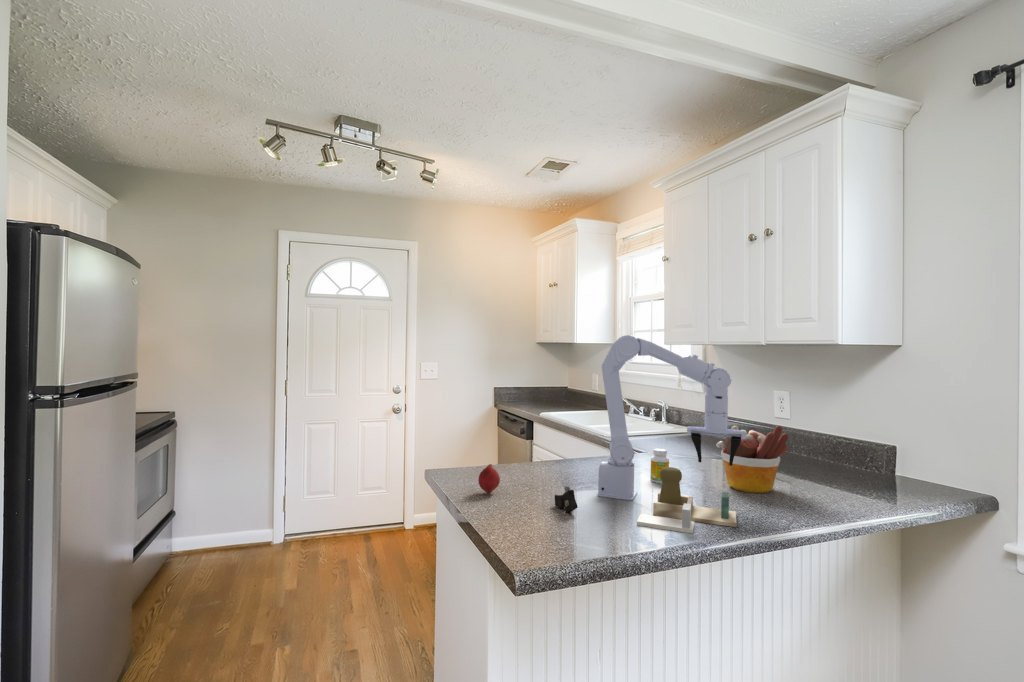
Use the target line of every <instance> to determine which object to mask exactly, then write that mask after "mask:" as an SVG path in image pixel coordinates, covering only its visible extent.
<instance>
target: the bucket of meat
mask: <svg viewBox="0 0 1024 682" xmlns="http://www.w3.org/2000/svg"><path fill="white" fill-rule="evenodd" d="M739 428H740V427H739V426H738V425H733V426H731V428H730V429H734V430H739ZM742 430H743V431H746V439H741V443H740V445H739V446H738V448H737V450H736V453H735V456H734V459H733V464H732V466H731V465H729V459H730V438H731V437H724V440H723V441H722V440H720V441H718V442H717V443H716V445H715V446H716V447H717V448H718V449H721V451H720V454H721V458H722V462H723V466H724V471H725V476H726V481H727V484H728V485H729V487H731V488H732V489H734V490H737V491H740V492H745V493H750V494H766V493H769V492H771V491H773V488H774V484H775V480H776V476H777V474H778V468H779V466H780V465H779V464H780V462H781V456H782V455H783V454H785V453H786V452H787V450H788V446H787V441H788V439H789V435H788V433H783V427H782V426H780V425H777V426H775V427H774V429H773V431H771V432H768V433H767V434H766V435H765V434H764V433H761V432H758V431H756V430H754V429H751V430H749V431H747V430H746V429H742Z"/></svg>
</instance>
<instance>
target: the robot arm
mask: <svg viewBox="0 0 1024 682" xmlns="http://www.w3.org/2000/svg"><path fill="white" fill-rule="evenodd" d="M636 356H639V357H641V356H642V357H643V356H646V357H647V356H650V357H652V358H655V359H656V360H659V361H661V362H664V363H665V364H666V363H667V364H669V365H672V366H674V367H676V369H677V371H678V373H679V374H680V375H682V376H684V377H687V378H688V379H691V380H693V381H695V382H698V383H699V384H704V385H705V395H704V426H692V425H691V426H686V434H687V435H691V436H690V438H691V441H692V443H693V444H694V448H695V451H696V454H697V455H696V456H697V461H698V463H702V436H709V437H711V436H712V437H722V438H723V437H724V438H726V437H731V438H730V459H729V465H731V466H732V464H733V459H734V456H735V453H736V450H737V448H738V446H739V445H740V443H741V439H746V431H747V430H746V431H743V430H744V429H738V430H734V429H731V428H728V413H729V410H728V409H729V402H728V401H729V396H728V395H729V393H728V392H729V389H728V388H729V387H730V386H731V384H732V379H731V376H730V373H728V371H727V370H726V369H724V368H720V367H717V366H715V363H714V362H710V363H709V362H708V361H704V360H702V359H699V355H696V354H693V353H692V355H691V354H686V355H683V356H680V355H678V354H677V353H675V352H673V351H671V350H669V349H667V348H664V347H663V346H661V345H658V344H656V343H654V342H652V341H649V340H646V339H644V338H639V337H637V338H636V337H635V336H633V335H630V334H626V335H622V336H620V337H619V338H617V340H616V341H615V342H613V344H611V345H610V348H609V350H608V352H607V354H606V355H605V358H604V359H603V361H602V363H601V372H602V381H603V386H604V394H605V401H606V408H607V416H608V423H609V430H610V438H611V439H610V442H609V445H608V446H609V447H608V448H609V453H610V457H609V458H608V459H607V461H601V462H600V463H599V467H598V485H597V486H598V489H597V491H598V493H597V496H598V497H603V498H610V499H619V500H624V501H634V499H635V497H636V496H637V494H638V492H637V491H635V461H634V457H635V450H634V448H633V446H632V443H631V441H630V440H629V433H628V428H627V422H626V421H627V419H626V415H625V407H624V400H623V394H622V387H621V386H622V385H621V379H620V370H621V369H622V368H623V366H625V364H626V363H627V362H628V361H629V360H631V359H633V358H634V357H636Z"/></svg>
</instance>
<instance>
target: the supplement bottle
mask: <svg viewBox="0 0 1024 682" xmlns="http://www.w3.org/2000/svg"><path fill="white" fill-rule="evenodd" d="M652 453H653V455H652V456H651V457H650V481H651V482H652V483H657V484H662V479H661V477H660V471H661V469H662V468H665V467H670V458H669V457H668V456H667V455H668V451H667V449H664V448H653V452H652Z"/></svg>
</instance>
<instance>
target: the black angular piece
mask: <svg viewBox="0 0 1024 682" xmlns="http://www.w3.org/2000/svg"><path fill="white" fill-rule="evenodd" d="M575 496H576V495H575V490H574V489H571V487H570V485H569V486H568V485H565V486H564V492H563V494H559V495H558V494H554V506H555V507H556V508H558V509H564V511H565V513H572V512H574V511H575V510H576V509H577V508H579V506H578V503H577V500H576V497H575Z"/></svg>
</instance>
